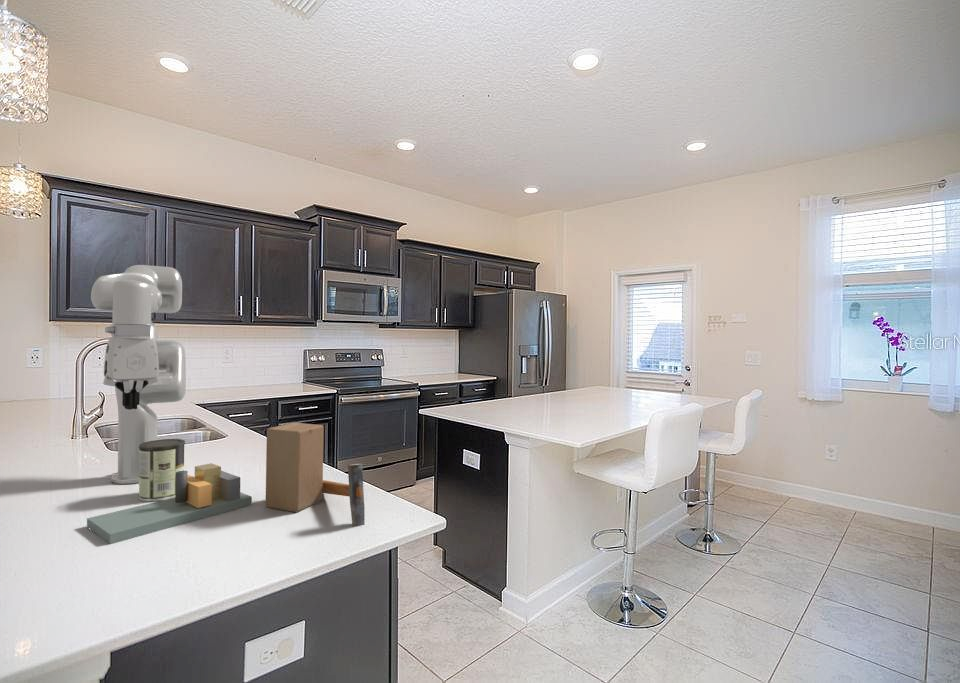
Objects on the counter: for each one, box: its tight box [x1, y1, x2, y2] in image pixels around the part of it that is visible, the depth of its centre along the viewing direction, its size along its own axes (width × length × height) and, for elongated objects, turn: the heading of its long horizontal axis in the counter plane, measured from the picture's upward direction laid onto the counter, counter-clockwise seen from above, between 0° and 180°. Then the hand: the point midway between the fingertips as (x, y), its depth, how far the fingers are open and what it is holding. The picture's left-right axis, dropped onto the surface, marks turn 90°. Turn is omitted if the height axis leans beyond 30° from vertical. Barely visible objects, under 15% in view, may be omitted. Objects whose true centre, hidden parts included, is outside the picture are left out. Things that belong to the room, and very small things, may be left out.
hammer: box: [322, 463, 366, 527], centre depth 123 cm, size 14×2×30 cm
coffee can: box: [138, 438, 186, 502], centre depth 128 cm, size 10×10×14 cm
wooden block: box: [265, 422, 325, 513], centre depth 124 cm, size 10×10×20 cm
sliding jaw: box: [175, 470, 212, 508], centre depth 117 cm, size 12×5×8 cm, turn 54°
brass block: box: [194, 462, 222, 501], centre depth 121 cm, size 5×4×8 cm
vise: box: [86, 470, 253, 545], centre depth 115 cm, size 14×30×7 cm, turn 145°
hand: (130, 408), depth 115 cm, fingers closed
